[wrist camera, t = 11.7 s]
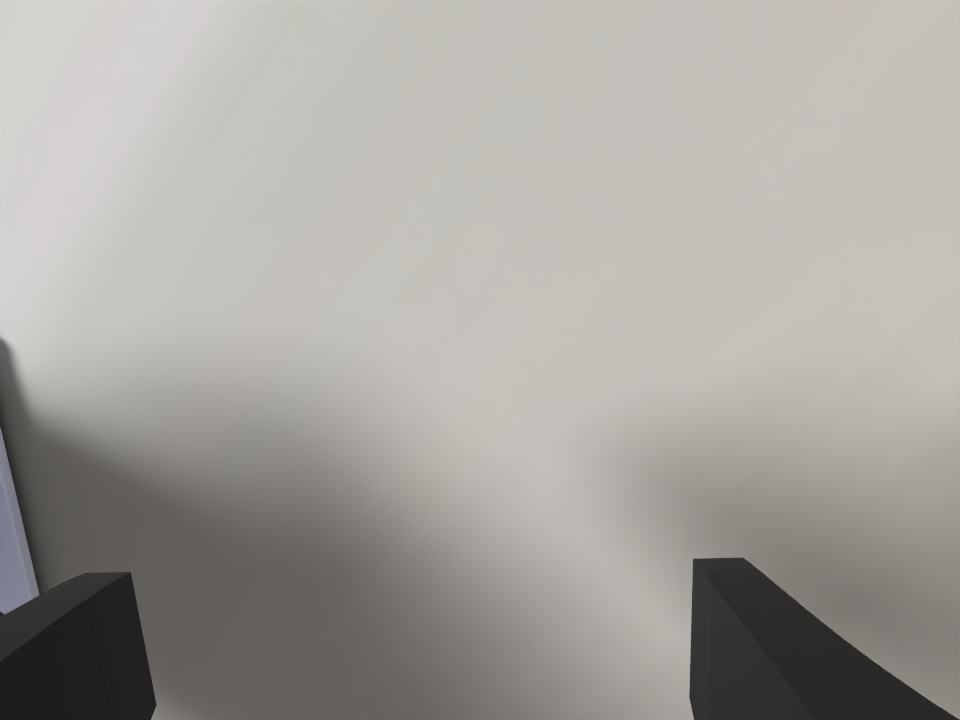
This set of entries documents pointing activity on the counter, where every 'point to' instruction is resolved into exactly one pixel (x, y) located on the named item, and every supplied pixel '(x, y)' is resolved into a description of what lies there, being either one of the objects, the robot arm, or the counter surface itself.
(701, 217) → the counter surface
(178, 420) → the counter surface
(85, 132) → the counter surface
